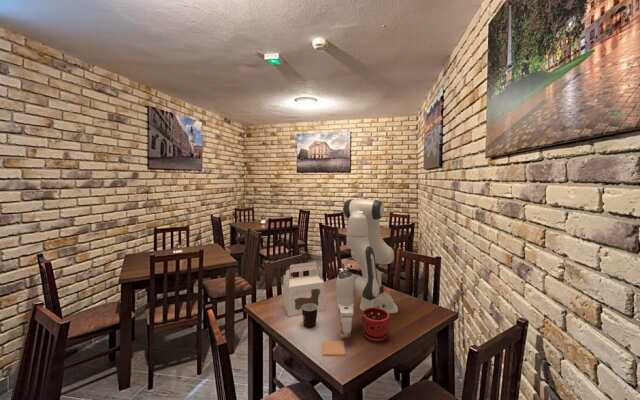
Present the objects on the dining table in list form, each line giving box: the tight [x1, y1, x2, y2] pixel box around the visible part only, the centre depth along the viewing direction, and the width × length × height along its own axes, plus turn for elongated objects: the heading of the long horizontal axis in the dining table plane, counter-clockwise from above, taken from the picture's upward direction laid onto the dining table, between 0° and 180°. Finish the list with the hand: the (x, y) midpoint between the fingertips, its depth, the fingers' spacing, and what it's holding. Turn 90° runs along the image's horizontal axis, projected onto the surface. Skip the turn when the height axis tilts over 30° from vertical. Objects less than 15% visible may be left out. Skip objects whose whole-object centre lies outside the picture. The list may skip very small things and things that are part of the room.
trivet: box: [321, 340, 346, 357], centre depth 131 cm, size 10×10×1 cm
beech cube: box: [339, 322, 351, 339], centre depth 142 cm, size 5×5×5 cm
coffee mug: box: [301, 304, 318, 329], centre depth 150 cm, size 12×9×10 cm
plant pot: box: [361, 308, 390, 342], centre depth 140 cm, size 13×13×12 cm
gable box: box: [282, 261, 325, 317], centre depth 170 cm, size 22×13×28 cm, turn 110°
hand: (344, 331), depth 142 cm, fingers open, 5 cm apart
